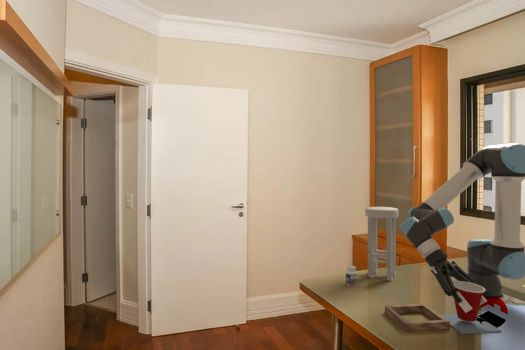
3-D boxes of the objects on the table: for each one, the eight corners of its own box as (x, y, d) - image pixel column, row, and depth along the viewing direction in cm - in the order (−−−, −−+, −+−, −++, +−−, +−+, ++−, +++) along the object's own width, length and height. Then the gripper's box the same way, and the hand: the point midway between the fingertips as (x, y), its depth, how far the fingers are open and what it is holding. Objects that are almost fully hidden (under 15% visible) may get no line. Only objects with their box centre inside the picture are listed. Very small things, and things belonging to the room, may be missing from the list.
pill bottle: (344, 283, 169) (344, 265, 169) (354, 283, 169) (354, 264, 169) (348, 287, 164) (347, 268, 163) (358, 286, 164) (358, 267, 164)
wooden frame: (424, 310, 136) (424, 303, 136) (450, 328, 120) (450, 321, 120) (384, 312, 135) (384, 305, 135) (405, 331, 119) (405, 324, 119)
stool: (370, 270, 190) (370, 206, 189) (400, 274, 182) (400, 207, 181) (362, 278, 176) (362, 209, 176) (395, 283, 168) (394, 210, 168)
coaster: (472, 314, 131) (472, 313, 131) (501, 331, 118) (501, 330, 117) (437, 316, 130) (437, 315, 130) (461, 334, 116) (461, 332, 116)
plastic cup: (491, 326, 117) (491, 291, 117) (456, 323, 120) (456, 289, 119) (478, 313, 128) (478, 280, 128) (446, 310, 130) (446, 279, 130)
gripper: (441, 254, 143) (483, 304, 130) (409, 263, 130) (452, 320, 117) (454, 243, 138) (499, 294, 126) (422, 252, 125) (469, 309, 113)
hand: (476, 306), depth 121 cm, fingers closed on plastic cup, 10 cm apart
